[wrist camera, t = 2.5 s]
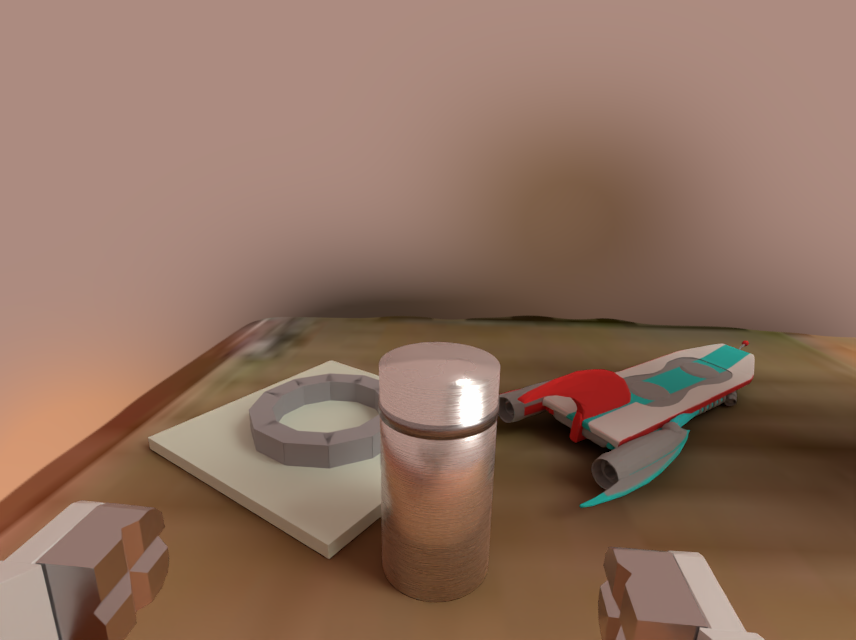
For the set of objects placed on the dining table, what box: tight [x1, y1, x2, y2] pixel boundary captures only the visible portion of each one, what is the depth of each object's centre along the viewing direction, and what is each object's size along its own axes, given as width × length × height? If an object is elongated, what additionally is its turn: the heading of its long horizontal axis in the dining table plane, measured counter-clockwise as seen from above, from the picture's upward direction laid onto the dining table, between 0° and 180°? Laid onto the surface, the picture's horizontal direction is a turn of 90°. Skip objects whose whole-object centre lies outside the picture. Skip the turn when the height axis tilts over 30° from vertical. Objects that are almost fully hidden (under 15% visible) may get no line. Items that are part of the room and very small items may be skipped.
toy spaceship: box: [499, 341, 755, 508], centre depth 39 cm, size 27×11×5 cm, turn 130°
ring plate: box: [148, 360, 381, 559], centre depth 35 cm, size 16×16×2 cm
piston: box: [378, 342, 500, 602], centre depth 23 cm, size 5×5×10 cm
